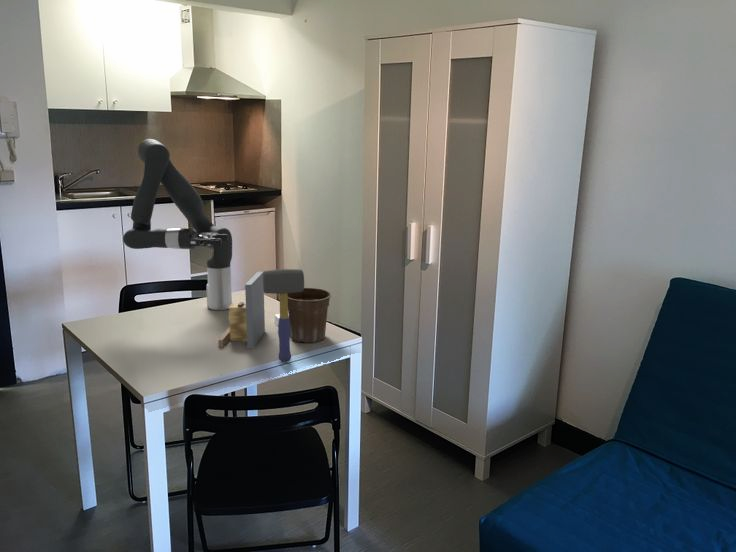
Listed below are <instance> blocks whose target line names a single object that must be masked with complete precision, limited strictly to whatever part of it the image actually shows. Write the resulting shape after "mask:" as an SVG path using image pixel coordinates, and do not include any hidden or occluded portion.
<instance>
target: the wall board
mask: <svg viewBox="0 0 736 552" xmlns="http://www.w3.org/2000/svg"><path fill="white" fill-rule="evenodd" d="M263 272H264V271H257V272H256V273H255V274H254V275H253V276H252V277H251V278H250V279H249V280H248V281H247V282H246V283H245V284H244V289H245V290H244V292H245V294H244V295H245V304H246V323H247V341H246V343H247V344H246V346H247V349H254V348H255V346H256V345H257V343H258V342H259V340H260V339H261V337H262V336H263V335H264V333H265V331H266V327H265V326H266V323H265V322H266V321H265V319H266V318H265V317H266V316H265V293H264V291H263ZM229 341H230V326H229V327H228V328H227V329H226V330H225V331H224V333H222V335H221V336H220V337H219V339H217V342H218V344H217V345H218V348H224V346H226V345H227V344H228V342H229Z"/></svg>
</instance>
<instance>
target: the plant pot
mask: <svg viewBox="0 0 736 552" xmlns="http://www.w3.org/2000/svg"><path fill="white" fill-rule="evenodd" d="M331 297H332V292H331V291H329V290H326V289H322V288H317V287H304V290H303V291H302V292H294V293H288V314H289V322H290V339H292V340H293V341H295V342H297V343H301V342H303V343H305V344H310V343H311V344H312V343H313V342H314V343H318V342H321V341H323V340H324V339H325V338H326V330H327V322H328V321H327V319H328V310H329V307H330V301H331V300H330V299H331ZM314 343H313V344H314Z"/></svg>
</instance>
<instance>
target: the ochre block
mask: <svg viewBox="0 0 736 552" xmlns="http://www.w3.org/2000/svg"><path fill="white" fill-rule="evenodd" d="M228 318H229V320H228V322H229V327H230V339H229V341H233V342H236V341H237V342H238V341H239V342H247V323H246V303H244V302H243V301H240V302H239V303H235V302H232V305H231V306H230V307H229V309H228Z"/></svg>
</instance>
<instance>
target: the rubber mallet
mask: <svg viewBox="0 0 736 552" xmlns="http://www.w3.org/2000/svg"><path fill="white" fill-rule="evenodd" d="M262 272H263V291H264V294H271V295H272V294H273V295H274V294H276V295H278V294H279V314H280V318H279V323H278V325H277V334H278V342H279V345H278V346H279V347H278V349H279V350H278V351H279V352H278V354H277V355H278V356H277V357H278V360H279V361H280V363H283V364H284V363H285V364H286V363H289V362H290V361H291V359H292V353H291V344H290V343H291V342H290V341H291V340H290V339H291V336H290V322H289V318H288V293H294V292H302V291H303V290H304V288H305V274H304V271H303V270H302V269H299V268H297V269H296V268H295V269H294V268H293V269H292V268H290V269H288V268H286V269H285V268H280V269H271V270H264V271H262Z"/></svg>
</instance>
